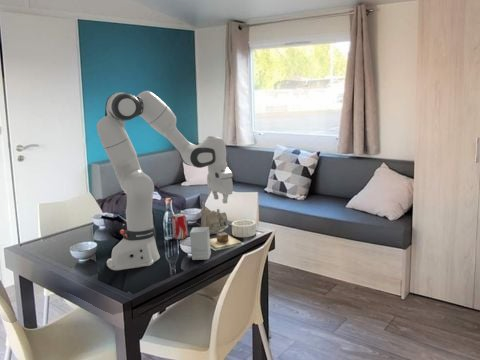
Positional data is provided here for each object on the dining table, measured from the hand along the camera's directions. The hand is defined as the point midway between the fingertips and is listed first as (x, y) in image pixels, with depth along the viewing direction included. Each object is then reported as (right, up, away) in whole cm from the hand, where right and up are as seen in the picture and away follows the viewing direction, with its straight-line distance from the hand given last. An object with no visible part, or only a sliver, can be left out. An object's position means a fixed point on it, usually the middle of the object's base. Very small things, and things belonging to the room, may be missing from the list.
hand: (220, 201), depth 216 cm
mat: (+1, -20, +4) cm, 20 cm away
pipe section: (+11, -17, +16) cm, 26 cm away
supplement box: (-8, -24, -13) cm, 28 cm away
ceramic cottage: (-4, -16, +27) cm, 31 cm away
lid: (+1, -20, +4) cm, 20 cm away
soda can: (-20, -19, +15) cm, 32 cm away
